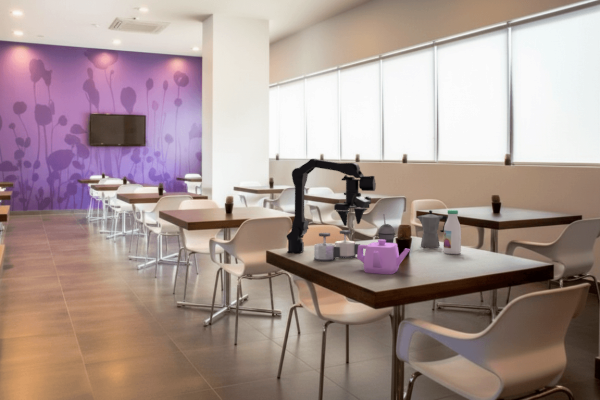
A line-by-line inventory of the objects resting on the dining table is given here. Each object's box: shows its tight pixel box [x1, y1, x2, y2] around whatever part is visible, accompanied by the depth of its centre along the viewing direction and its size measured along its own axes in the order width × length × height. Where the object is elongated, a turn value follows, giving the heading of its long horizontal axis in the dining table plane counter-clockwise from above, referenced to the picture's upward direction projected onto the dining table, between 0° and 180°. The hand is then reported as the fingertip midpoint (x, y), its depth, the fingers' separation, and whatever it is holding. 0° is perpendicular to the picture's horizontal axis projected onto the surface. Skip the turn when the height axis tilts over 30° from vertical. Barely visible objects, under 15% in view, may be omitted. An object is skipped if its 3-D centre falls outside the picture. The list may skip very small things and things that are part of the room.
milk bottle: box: [443, 209, 462, 255], centre depth 264 cm, size 8×8×20 cm
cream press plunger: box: [339, 229, 352, 243], centre depth 257 cm, size 5×5×6 cm
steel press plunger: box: [318, 232, 331, 245], centre depth 250 cm, size 5×5×6 cm
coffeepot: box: [416, 210, 448, 249], centre depth 283 cm, size 15×9×18 cm, turn 70°
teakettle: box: [356, 239, 411, 275], centre depth 226 cm, size 17×17×12 cm
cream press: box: [334, 240, 361, 259], centre depth 257 cm, size 12×9×6 cm
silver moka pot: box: [313, 242, 341, 262], centre depth 250 cm, size 12×9×6 cm
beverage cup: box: [377, 213, 396, 243], centre depth 249 cm, size 7×7×20 cm
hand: (351, 224), depth 260 cm, fingers open, 9 cm apart
